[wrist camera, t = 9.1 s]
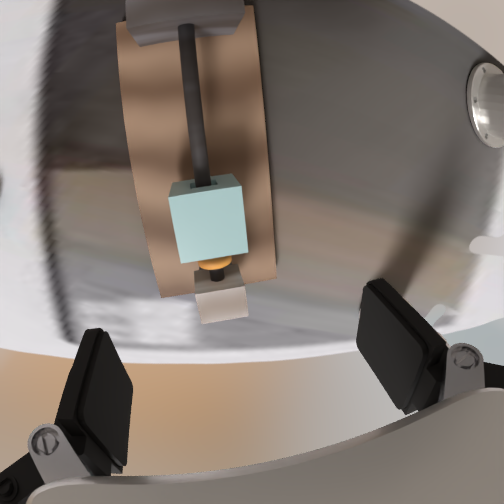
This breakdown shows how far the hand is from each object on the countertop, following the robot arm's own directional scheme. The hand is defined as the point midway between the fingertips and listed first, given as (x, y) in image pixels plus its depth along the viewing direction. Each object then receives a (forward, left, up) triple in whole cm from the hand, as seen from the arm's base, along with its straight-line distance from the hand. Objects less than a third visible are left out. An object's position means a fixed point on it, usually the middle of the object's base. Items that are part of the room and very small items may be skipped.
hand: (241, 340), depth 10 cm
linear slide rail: (0, -4, -20) cm, 21 cm away
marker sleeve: (0, 0, -17) cm, 17 cm away
